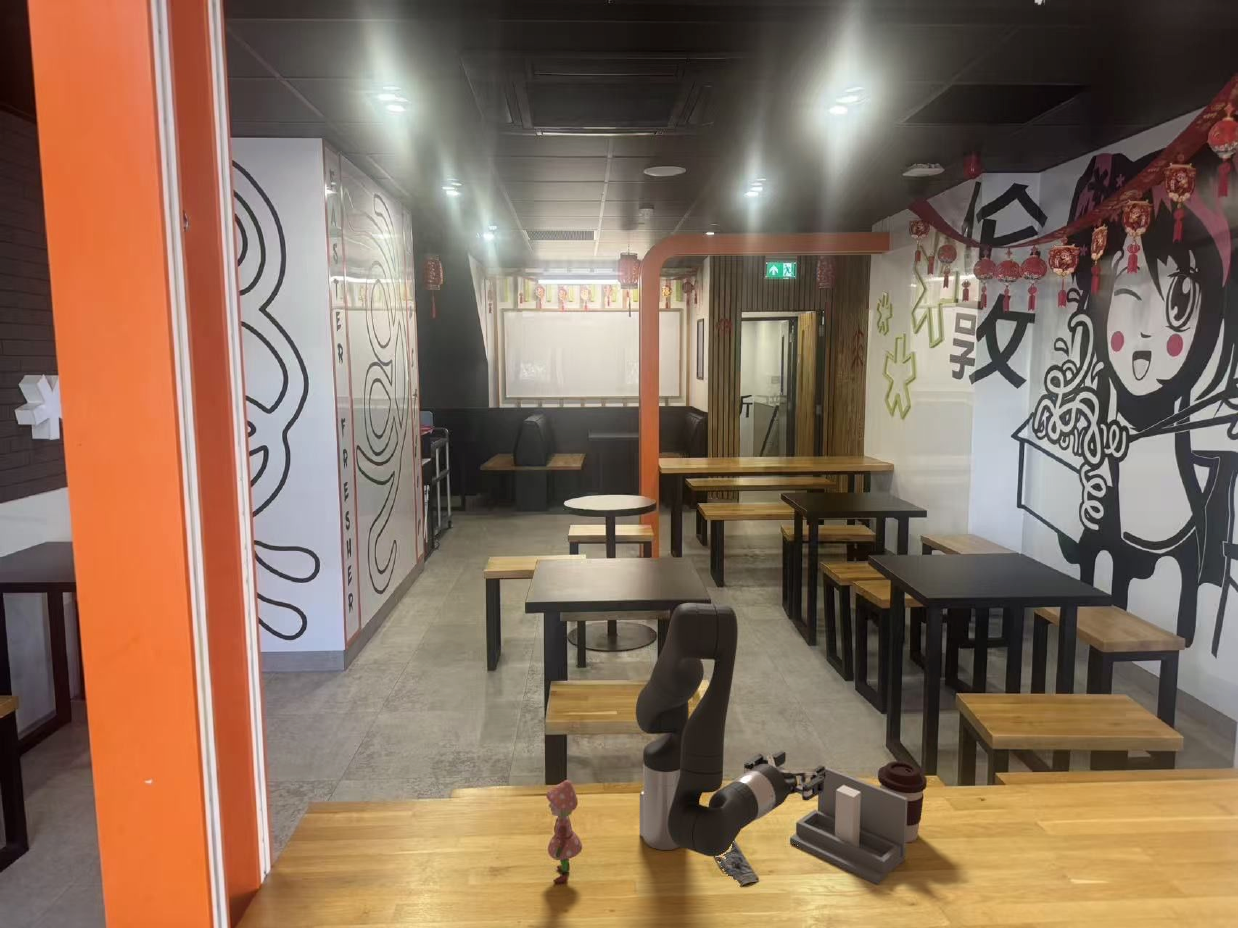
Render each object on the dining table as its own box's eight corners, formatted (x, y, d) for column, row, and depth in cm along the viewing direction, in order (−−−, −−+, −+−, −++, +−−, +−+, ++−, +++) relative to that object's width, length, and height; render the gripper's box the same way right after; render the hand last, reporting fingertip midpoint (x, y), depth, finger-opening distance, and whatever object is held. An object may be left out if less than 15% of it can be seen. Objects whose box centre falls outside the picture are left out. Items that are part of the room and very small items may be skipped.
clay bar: (834, 844, 164) (836, 789, 163) (841, 838, 166) (843, 784, 165) (851, 852, 161) (853, 797, 160) (859, 846, 164) (860, 791, 162)
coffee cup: (874, 841, 168) (876, 774, 166) (877, 817, 177) (879, 754, 175) (923, 851, 164) (926, 783, 163) (924, 826, 173) (927, 762, 172)
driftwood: (761, 887, 153) (761, 877, 153) (728, 891, 152) (728, 880, 152) (728, 830, 173) (728, 821, 173) (698, 833, 172) (698, 824, 172)
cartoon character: (579, 893, 150) (578, 794, 148) (542, 891, 151) (541, 792, 149) (585, 861, 160) (584, 768, 158) (550, 860, 161) (550, 767, 159)
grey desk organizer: (789, 842, 167) (791, 783, 166) (819, 821, 175) (821, 764, 174) (877, 884, 153) (879, 820, 152) (905, 858, 161) (907, 798, 160)
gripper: (791, 786, 134) (837, 756, 145) (723, 759, 143) (771, 733, 155) (790, 828, 134) (836, 794, 146) (723, 799, 144) (771, 770, 156)
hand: (803, 763), depth 150 cm, fingers open, 8 cm apart
